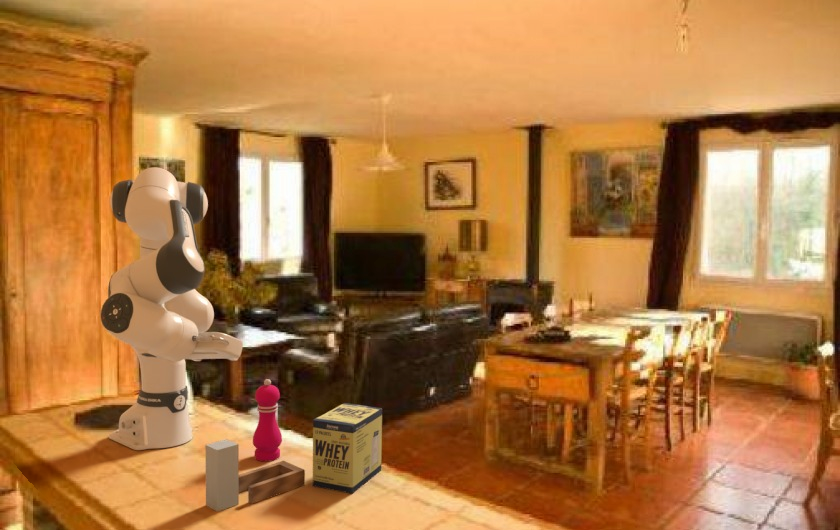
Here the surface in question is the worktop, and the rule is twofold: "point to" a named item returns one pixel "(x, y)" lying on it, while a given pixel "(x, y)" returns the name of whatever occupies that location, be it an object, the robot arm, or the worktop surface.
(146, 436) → the robot arm
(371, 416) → the protein box
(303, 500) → the worktop surface
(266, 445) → the pepper mill
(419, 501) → the worktop surface
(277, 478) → the rack
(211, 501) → the tall white pillar
